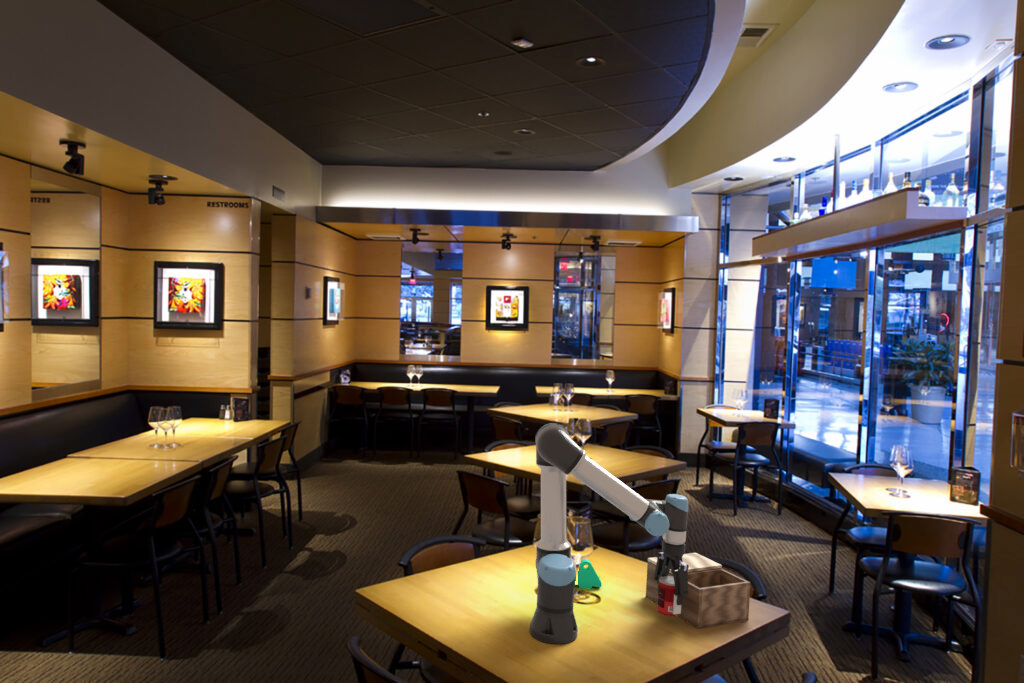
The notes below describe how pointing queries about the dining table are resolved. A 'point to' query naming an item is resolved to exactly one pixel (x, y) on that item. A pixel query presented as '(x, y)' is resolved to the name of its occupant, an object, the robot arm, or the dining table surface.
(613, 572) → the dining table surface
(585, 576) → the camera mount
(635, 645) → the dining table surface
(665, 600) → the canned food
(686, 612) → the housing
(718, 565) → the lid
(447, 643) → the dining table surface
